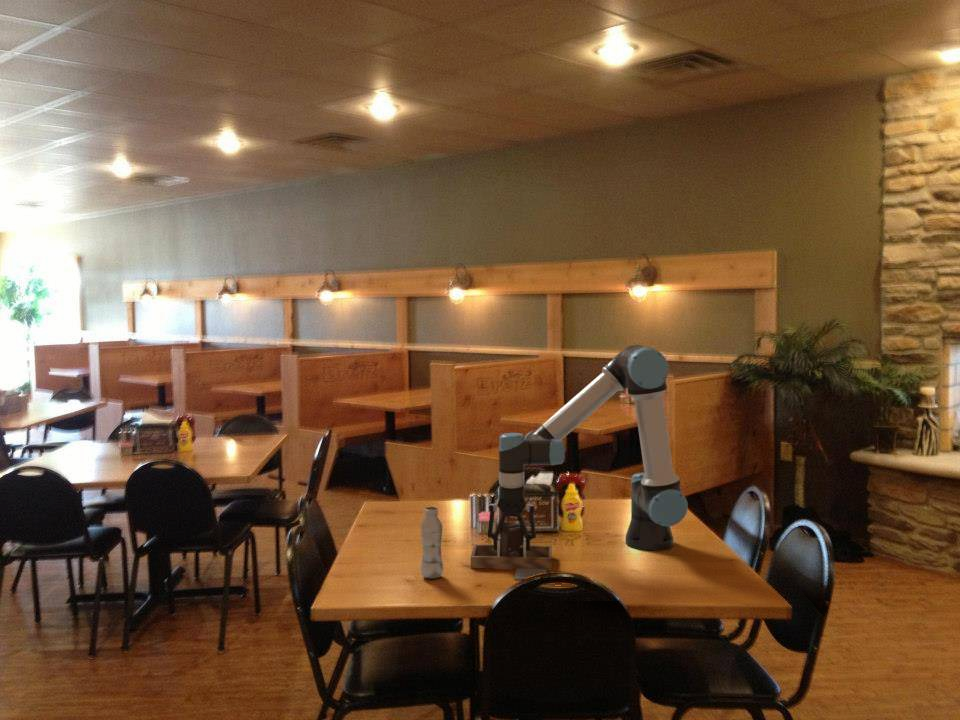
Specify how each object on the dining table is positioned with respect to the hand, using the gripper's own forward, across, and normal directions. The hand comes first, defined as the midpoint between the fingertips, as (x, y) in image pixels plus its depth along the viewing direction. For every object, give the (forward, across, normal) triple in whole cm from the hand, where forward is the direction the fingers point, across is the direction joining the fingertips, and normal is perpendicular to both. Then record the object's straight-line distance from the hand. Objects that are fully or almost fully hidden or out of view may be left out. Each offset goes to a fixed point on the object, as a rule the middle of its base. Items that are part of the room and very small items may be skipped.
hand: (511, 560), depth 260 cm
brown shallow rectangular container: (+1, 0, 0) cm, 1 cm away
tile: (+1, -6, +11) cm, 13 cm away
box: (+1, 0, 0) cm, 1 cm away
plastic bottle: (+1, +22, +15) cm, 27 cm away
